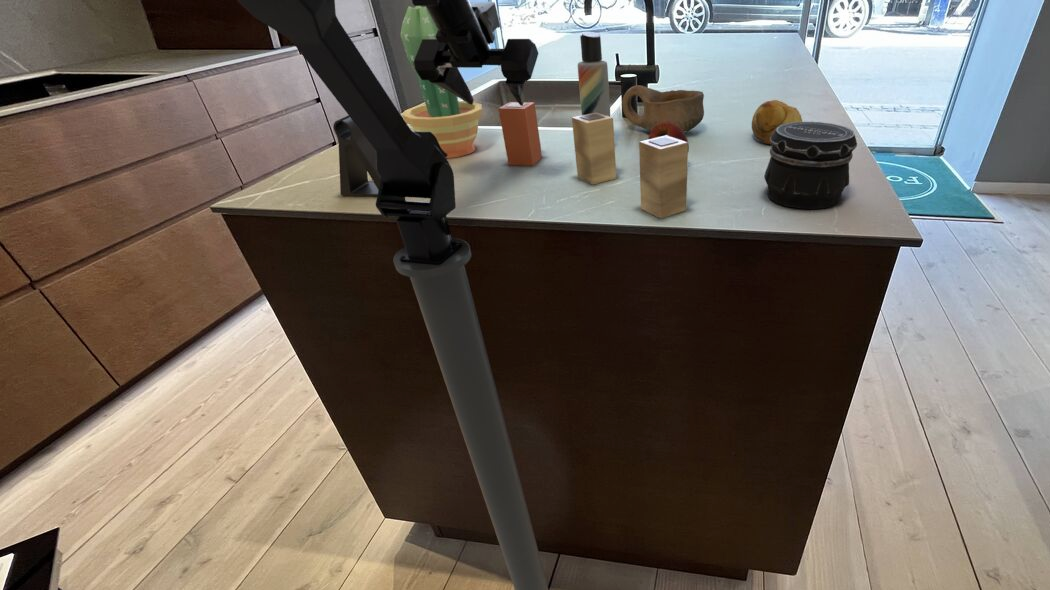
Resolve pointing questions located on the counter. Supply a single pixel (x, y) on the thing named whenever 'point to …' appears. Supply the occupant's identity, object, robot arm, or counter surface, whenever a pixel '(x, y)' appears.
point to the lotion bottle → (593, 76)
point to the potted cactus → (438, 95)
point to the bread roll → (772, 118)
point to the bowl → (665, 107)
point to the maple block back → (594, 147)
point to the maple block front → (663, 175)
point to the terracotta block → (520, 133)
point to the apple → (668, 131)
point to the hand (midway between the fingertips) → (497, 103)
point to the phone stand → (356, 160)
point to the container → (809, 164)
